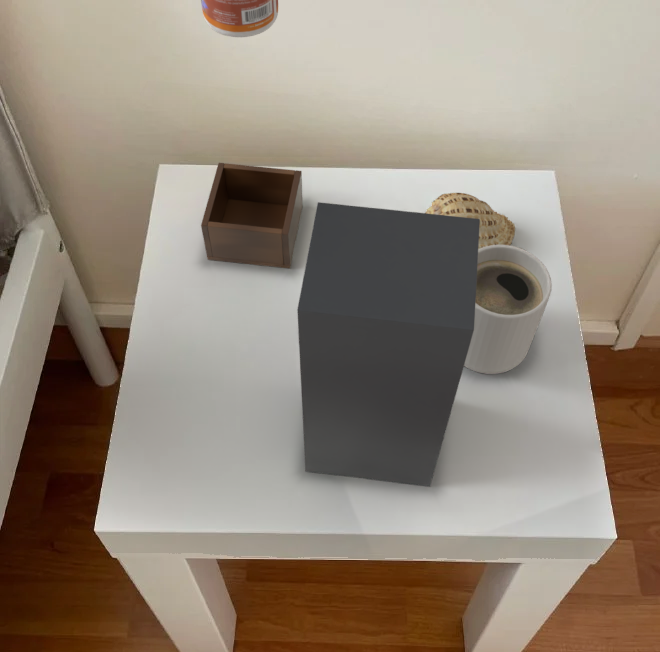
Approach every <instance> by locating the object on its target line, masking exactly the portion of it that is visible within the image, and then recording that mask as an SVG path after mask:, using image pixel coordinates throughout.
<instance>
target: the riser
mask: <svg viewBox="0 0 660 652" xmlns="http://www.w3.org/2000/svg"><path fill="white" fill-rule="evenodd" d="M479 227H480V219H475V218H466V217H456V216H446V215H437V214H427V213H425V212H416V211H406V210H398V209H397V210H396V209H387V208H377V207H370V206H369V207H368V206H357V205H348V204H340V203H339V204H338V203H337V204H336V203H329V202H320V201H319V202H317V204H316V210H315V213H314V221H313V226H312V231H311V236H310V242H309V246H308V250H307V251H308V252H307V257H306V262H305V267H304V273H303V279H302V284H301V289H300V293H299V294H300V295H299V300H298V305H297V310H296V311H297V331H298V333H297V334H298V351H299V371H300V372H299V373H300V389H301V411H302V430H303V431H302V434H303V451H304V452H303V453H304V472H307V473H314V474H323V475H331V476H339V477H346V478H347V477H348V478H355V479H356V478H357V479H362V480H371V481H379V482H386V483H387V482H388V483H395V484H405V485H410V486H411V485H412V486H420V487H426V488H427V487H428V488H431V486H432V482H433V477H434V474H435V471H436V468H437V464H438V461H439V456H440V453H441V449H442V446H443V442H444V439H445V435H446V431H447V429H448V425H449V421H450V418H451V414H452V411H453V406H454V403H455V399H456V396H457V392H458V388H459V384H460V381H461V377H462V374H463V370H464V368H465V366H464V364H465V360H466V357H467V353H468V349H469V346H470V342H471V339H472V335H473V332H474V321H475V302H476V283H477V264H478V246H479Z"/></svg>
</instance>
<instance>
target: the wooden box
mask: <svg viewBox="0 0 660 652" xmlns="http://www.w3.org/2000/svg"><path fill="white" fill-rule="evenodd" d="M302 175H303V173H302V170H295V169H286V168H278V167H277V168H276V167H265V166H255V165H247V164H238V163H229V162H227V163H226V162H218V163H217V167H216V170H215V173H214V178H213V181H212V185H211V187H210V188H211V189H210V191H209V195H208V199H207V202H206V206H205V209H204V213H203V217H202V220H201V224H200V228H201V233H202V238H203V242H204V249H205V253H206V258H207V259H206V260H209V261H217V262H227V263H236V264H243V265H244V264H246V265H255V266H263V267H272V268H280V269H282V268H283V269H291V267H292V262H293V257H294V252H295V248H296V247H295V246H296V242H297V238H298V232H299V227H300V222H301V219H302V212H303V206H304V200H303V199H304V198H303V176H302Z"/></svg>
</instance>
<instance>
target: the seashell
mask: <svg viewBox="0 0 660 652" xmlns="http://www.w3.org/2000/svg"><path fill="white" fill-rule="evenodd" d="M424 213H427V214H437V215H446V216H456V217H466V218H475V219H480V227H479V246H478V249H480V248H483V247H486V246H490V245H510V246H511V245H512V243H513V240H514V238H515V235H516V225H515V223H513V221H512V220H510V219H509V217H508V216H506V215H504V214H503V213H502V214H500V213H498V212H497V211H495V210H493V208H492V206H490V204H488V203H487V202H486V201H484V200H481V199H479V198H477V197H476V196H474V195H472V194H469V193H466V192H465V193H464V192H448V193H447V192H446V193H443V194H440V195H439V196H437V198H435V200H433V201H431V206H429V207H428V208H427V209H426V211H425V212H424Z"/></svg>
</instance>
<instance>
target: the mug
mask: <svg viewBox="0 0 660 652" xmlns="http://www.w3.org/2000/svg"><path fill="white" fill-rule="evenodd" d="M552 288H553V284H552V278H551V275H550V272H549V270H548V268H547V266H545V264H544V263H543V261H541V259H539V258H538V257H537V256H536V255H534V254H533V253H532V252H530V251H527V250H525V249H523V248H521V247H518V246H514V245H511V244H510V245H490V246H486V247H483V248H480V249H478V264H477V283H476V302H475V321H474V332H473V335H472V339H471V342H470V346H469V349H468V353H467V357H466V360H465V364H464V368H466V369H468V370H471V371H473V372H476V373H480V374H486V375H497V374H498V375H499V374H502V373H506V372H509V371H511V370H513V369H515V368H516V367H518V366H519V365H520V364H522V362H523V361H524V360H525V358H526V357H527V355H528V353H529V351H530V348H531V345H532V342H533V341H534V337H535V335H536V333H537V331H538V328H539V326H540V323H541V321H542V317H543V315H544V312H545V310H546V307H547V304H548V303H549V300H550V297H551V295H552V290H553V289H552Z"/></svg>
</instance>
